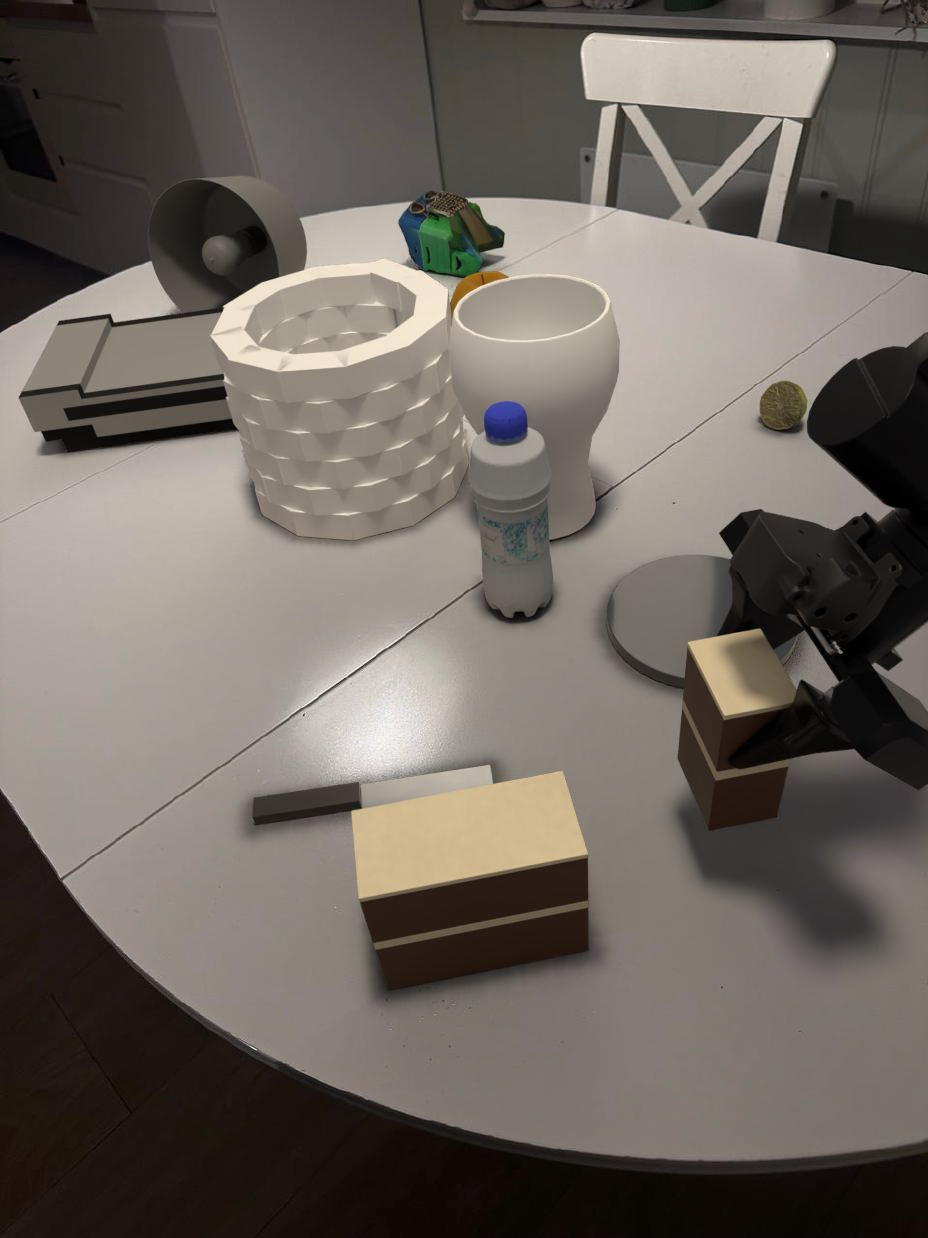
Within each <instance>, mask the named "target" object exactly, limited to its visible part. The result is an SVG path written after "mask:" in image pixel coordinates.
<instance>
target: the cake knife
mask: <svg viewBox="0 0 928 1238" xmlns="http://www.w3.org/2000/svg"><path fill="white" fill-rule="evenodd" d="M491 766H492V765H491V764H485V765H478V766H473V767H466V768H465V767H464V768H459V769H452V770H446V771H439V772H432V773H426V774H419V775H413V776H405V777H399V778H393V779H386V780H378V781H372V782H366V783H360V782H359V781H354V782H348V783H342V784H334V785H328V786H321V787H316V788H315V787H314V788H309V789H302V790H296V791H295V790H294V791H289V792H282V793H275V794H274V793H273V794H267V795H262V796H255V797H253V799H252V815H251V818H252V820H253V822H254V824H255V825H262V824H269V823H275V822H282V821H288V820H295V819H302V818H309V817H316V816H322V815H329V814H335V813H343V812H350V811H354V810H359V809H364V808H369V807H375V806H380V805H385V804H391V803H396V802H401V801H406V800H412V799H417V798H422V797H427V796H433V795H438V794H443V793H448V792H454V791H459V790H464V789H469V788H475V787H480V786H485V785H491V784H495V783H494V778H493V772H492V767H491Z"/></svg>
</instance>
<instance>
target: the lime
mask: <svg viewBox="0 0 928 1238" xmlns="http://www.w3.org/2000/svg"><path fill="white" fill-rule="evenodd" d="M807 410H808V399H807V396H806V393H805V392H804V389H803V388H802V386H801V385H798V384H797V383H796V382H794V381H793V382H792V381H790V380H780V381H777V382H774V383H772V384H771V385H769V386H768V387H767V388H766V390H765V391H764V392H763V393H762V395H761V396H760V399H759V415H760V417H761V420H762V421H763V423H764V425H765V426H767V427H768V428H770V429H773V430H776V431H780V430H781V431H782V430H787V429H790V428H791V429H792V428H794V427H796V426H797V425H798V424H799V423H800V422H801V420H802V419H803V418H804V416H805V414H806V412H807Z"/></svg>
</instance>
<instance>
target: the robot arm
mask: <svg viewBox="0 0 928 1238" xmlns="http://www.w3.org/2000/svg"><path fill="white" fill-rule="evenodd" d="M806 434H807V435H808V438H810V440H811V441H812V442H813V443H814V444H816V445H817V446H818V447H819V448H820V449H821V450H822V451H823V452H825V453H826V454H827V455H828V456H829V457H830V458H831V459H832V460H833V461H835V462H836V463H837V464H838V465H839V466H840V467H842V468H843V469H844V470H845V471H846V472H847V473H848V474H849V475H850V476H852V477H853V478H854V479H855V481H857V482H858V483H859V484H861V486H863V487H864V488H865V489H866V490H867V491H868V492H870V493H871V495H873V496H874V498H876V499H877V500H878V501H879V502H880V503H882V504H883V505H884V506H886V507H887V506H888V507H890V508H893V509H892V510H890V511H889V512H888V513H887V514H885V515H884V516H883V517H882V518H881V519H879V520H876V519H875V518H874V517H873V516H872V515H870V514H869V513H868V512H867V511H864V512H863V513H862V514H861V515H856V516H855V515H854V516H853V517H852V518H850V519H849V520H847V522H846V523H845V524H843V525H842V526H840V527H839V528H837V529H831V528H828V527H825V526H823V525H822V524H820V523H817V522H815V521H809V520H805V519H800V518H796V517H791V516H788V515H787V516H786V515H782V514H778V513H774V512H768V511H765V510H763V509H762V508H758V509H753V510H748V511H742V512H740V513H738V514H737V516H735V517H734V518H733V519H732V520H731V521H730V522H729V523H728V524H726V526H725V527H724V528H722V529H721V530H720V531H719V532H718V534H719V536H720V538H721V539H722V541H723V542H724V544H725V546H726V547H727V549H728V550H729V552H730V553H731V555H732V556H731V557H730V558H729V559H730V564H731V565H730V567H729V574H730V576H731V579H732V605H731V608H730V610H729V612H728V614H727V617H726V619H725V621H724V623H723V625H722V627H721V629H720V631H719V632H718V634H717V636H722V635H728V634H733V633H738V632H744V631H749V630H754V629H761V630H762V632H763V634H764V635H765V637H766V639H767V640H768V642H769V644H770V645H771V647H772V649H773V650H774V649H776V648H778V647H779V646H781V645H782V644H784V643H786V642H787V641H789V640H790V639H792V638H793V637H795V636H797V635H798V636H799V635H800V634H801V633H803V632H804V631H805V633H806V634H807V636H808V637H809V639H810V640H811V642H812V643H813V645H814V646H815V648H816V649H817V651H818V653H819V654H820V655H821V657H822V659H823V660H824V662H825V663H826V665H827V666H828V668H829V670H830V671H831V672H832V674H833V675H834V677H835V678H836V680H837V681H838V683H836V684H835V685H834V686H831V687H830V688H828V689H827V690H826V691H825V692H823V690H820V689H819V688H817V687H815V686H814V685H813V684H811V683H808V682H807V681H805V680H804V679H803V678H801V679H800V680H799V682H798V685H797V687H796V689H797V691H796V694H795V698H794V701H793V703H792V705H791V706H790V707H789V708H787V709H786V710H785V711H784V712H782V713H781V714H780V715H778V716H777V717H776V718H775V719H773V720H772V721H771V722H769V723H768V724H767V725H766V726H764V727H763V728H762V729H761V730H759V731H758V732H757V733H755V734H754V735H753V736H752V737H750V738H749V739H748V740H747V741H746V742H745V743H744V744H743V745H742V746H741V747H740V748H739V749H738V750H737V751H736V752H735V753H734V754H733V755H732V756H731V757H730V758H729V759H728V762H729V764H730V765H731V766H733V767H735V768H737V769H746V768H750V767H755V766H759V765H764V764H769V763H773V762H778V761H783V760H787V759H790V760H792V759H795V758H801V757H806V756H811V755H816V754H822V753H832V752H842V751H851V750H854V751H856V752H857V754H858V755H859V756H860V757H861V758H862V759H863V760H864V761H865V762H867V763H869V764H871V765H873V766H874V767H876V768H877V769H880V770H882V771H883V772H885V773H887V774H889V775H890V776H892V777H894V778H896V779H897V780H899V781H901V782H903V783H904V784H906V785H907V786H910V787H911V788H912V789H914V790H916V791H921V790H922V789H923V788H925V787H926V786H928V709H927V708H926V707H925V705H924V704H923V703H922V702H921V700H920V699H919V698H917V697H915V696H914V695H912V694H911V693H910V692H908V691H907V690H906V689H904V688H902V687H901V686H899V685H898V684H897V683H895V682H894V681H891V680H890V679H888V677H886V676H884V675H883V674H882V673H879V672H878V671H877V670H876V669H875V668H874V666H873V665H874V664H877V665H878V666H879V667H881V668H882V669H884V670H886V671H887V672H889V671H891V670H892V669H893V668H894V667H896V666H897V665H899V664H900V663H902V661H904V659H903V658H902V655H900V654H899V652H898V651H897V650H896V648H897V647H898V646H900V645H901V644H902V643H903V642H905V641H906V640H907V639H909V638H910V637H912V636H913V635H914V634H915V633H916V632H918V631H919V630H920V629H922V628H923V627H925V626H926V625H927V624H928V331H925V332H923V333H922V334H921V335H920V336H918V337H917V338H916V339H915V340H914V341H912V342H911V343H910V344H909V345H907V346H906V347H905V346H896V345H891V346H886V347H882V348H879V349H877V350H874V351H872V352H869V353H867V354H866V355H864V356H862V357H861V358H858V357H854V358H852V359H851V360H850V361H848V362H847V363H846V364H844V365H843V366H842V367H841V368H840V369H838V371H836V372H835V373H834V374H833V375H832V376H831V377H830V379H829V380H828V381H827V382H826V383H825V384H824V385H823V387H822V388H821V389H820V391H819V392H818V393H817V395H816V397H815V399H814V400H813V402H812V404H811V406H810V409H809V411H808V414H807V419H806ZM836 646H837V647H838V648H837V647H836ZM839 651H841V653H840V652H839Z"/></svg>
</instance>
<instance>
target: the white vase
mask: <svg viewBox="0 0 928 1238" xmlns="http://www.w3.org/2000/svg"><path fill="white" fill-rule="evenodd" d="M620 344H621V340H620V335H619V332H618V327H617V323H616V319H615V314H614V310H613V306H612V302H611V300H610V297H609V295H608V293H607V292H606V291H605V290H604V289H603V288H602V287H601V286H600V285H598V284H595V283H593V282H591V281H589V280H587V279H583V278H579V277H576V276H573V275H563V274H557V273H556V274H554V273H533V274H524V275H514V276H509V278H505V279H501V280H497V281H494V282H491V283H488V284H485V285H483V286H480V287H478V288H477V289H475V290H473V291H471V292H469V293H468V294H466V295H465V296H464V297H463V298H462V299H461V300H460V301H459V302H458V304H457V306H456V308H455V310H454V312H453V319H452V327H451V335H450V343H449V360H450V368H451V376H452V385H453V390H454V392H455V394H456V397H457V399H458V401H459V403H460V406H461V408H462V410H463V413H464V415H463V416H464V417H465V418H466V420H467V422H468V423H469V425H470V427H471V428H472V429H473V430H474V432H475V433H476V434H477V436H478V435H479V434H481V433H482V432H484V431H485V428H484V415H485V412H486V410H487V409H488V408H489V407H490V406H491V405H493V404H495V403H498V402H503V401H511V402H516V403H518V404H520V405H521V406H522V407H523V408H524V409H525V411H526V414H527V424H528V427H529V428H531V429H534V430H536V431H537V432H539V433H540V434H541V435H542V437H543V439H544V441H545V445H546V450H547V456H548V461H549V466H550V469H551V480H550V483H551V491H550V494H549V496H548V498H547V501H548V524H549V541H550V540H557V539H560V538H563V537H567V536H569V535H572V534H574V533H576V532H578V531H580V530H582V528H584V527H585V526H586V525H588V523H590V522H591V520H592V518H593V516H594V515H595V512H596V508H597V502H596V495H595V488H594V484H593V479H592V473H591V469H590V464H589V460H590V455H591V454H590V453H591V449H592V441H593V436H594V435H595V433H596V431H597V430H598V427H599V426H600V424H601V422H602V421H603V419H604V417H605V415H606V414H607V412H608V409H609V407H610V403H611V400H612V397H613V394H614V391H615V388H616V386H617V382H618V377H619V373H620V348H621V347H620Z"/></svg>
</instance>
